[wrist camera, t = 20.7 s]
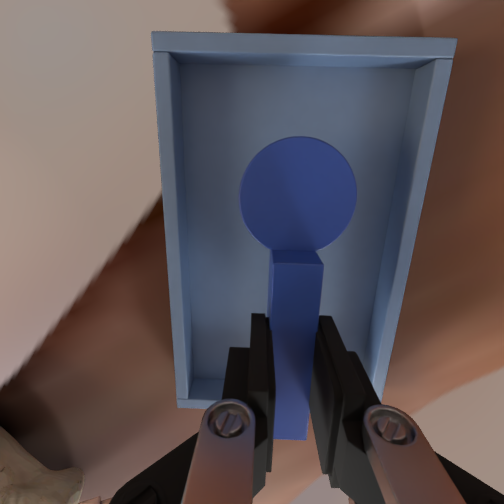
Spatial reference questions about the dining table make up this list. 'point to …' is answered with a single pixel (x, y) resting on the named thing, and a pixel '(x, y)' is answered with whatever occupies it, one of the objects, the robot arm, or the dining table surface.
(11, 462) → the ceramic sculpture
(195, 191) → the blue tray
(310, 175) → the blue spoon
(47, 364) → the dining table surface
